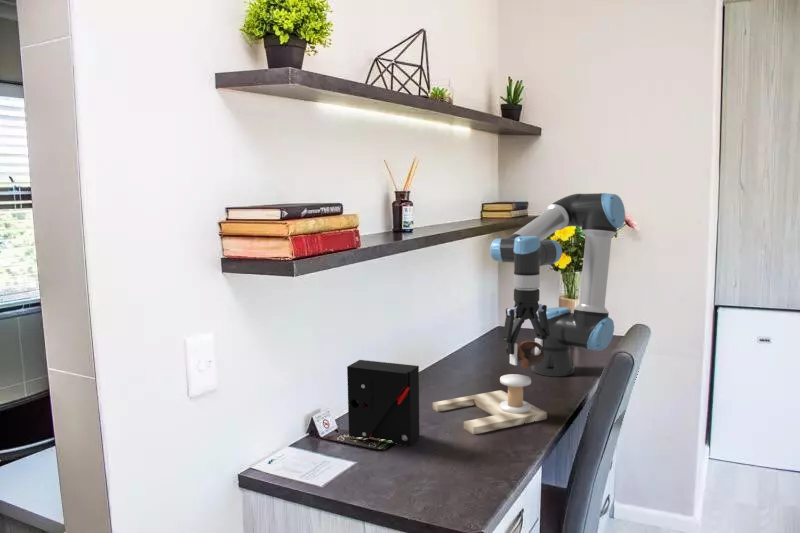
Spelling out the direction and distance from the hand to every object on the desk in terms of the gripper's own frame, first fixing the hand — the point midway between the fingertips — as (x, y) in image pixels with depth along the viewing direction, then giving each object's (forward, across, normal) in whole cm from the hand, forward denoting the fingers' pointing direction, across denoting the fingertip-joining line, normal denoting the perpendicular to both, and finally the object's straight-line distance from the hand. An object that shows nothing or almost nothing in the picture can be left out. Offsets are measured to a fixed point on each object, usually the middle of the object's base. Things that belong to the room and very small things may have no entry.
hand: (526, 362), depth 190 cm
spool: (+12, +6, +3) cm, 14 cm away
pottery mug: (+1, 0, 0) cm, 1 cm away
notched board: (+14, +13, -2) cm, 20 cm away
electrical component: (+14, +47, -1) cm, 50 cm away
